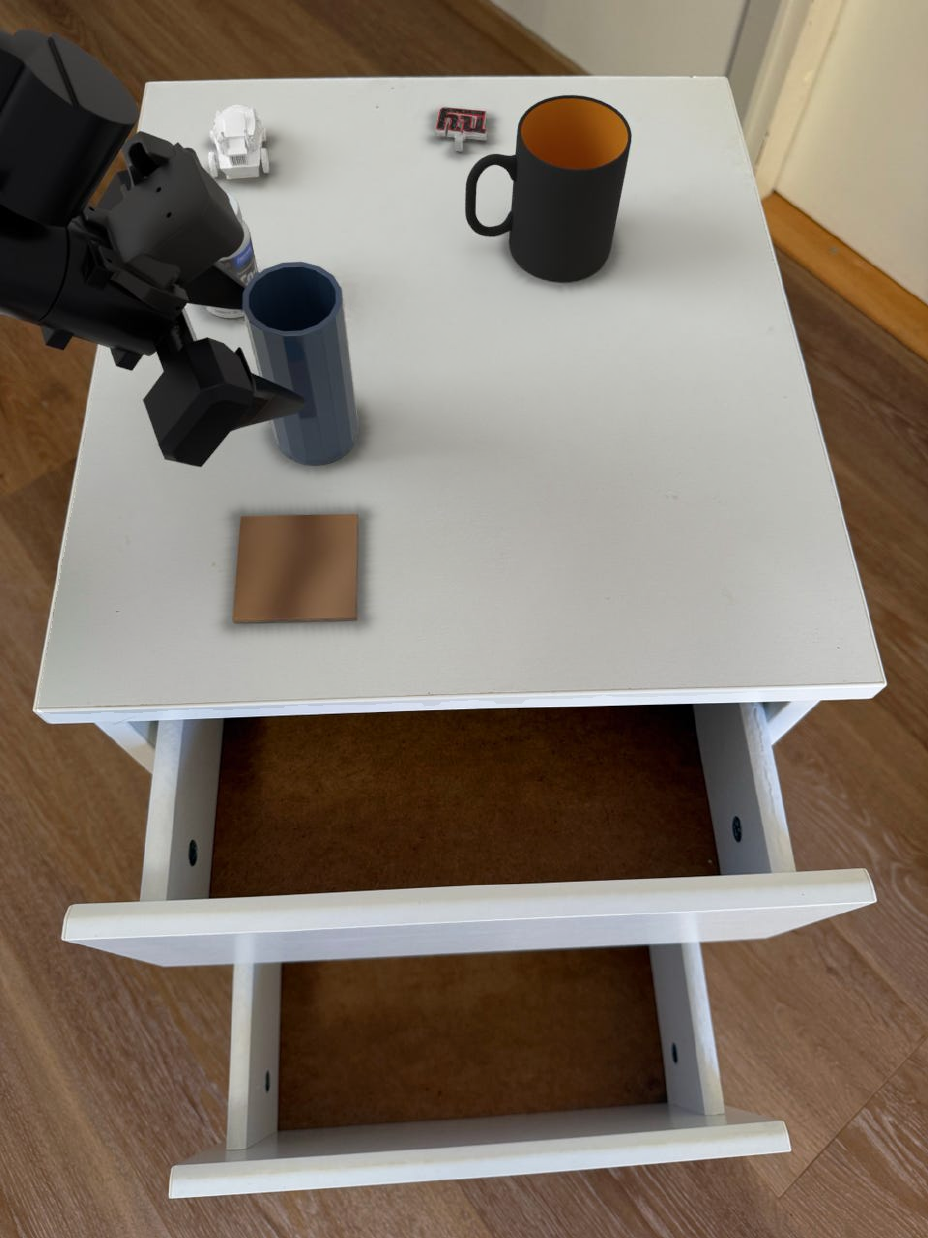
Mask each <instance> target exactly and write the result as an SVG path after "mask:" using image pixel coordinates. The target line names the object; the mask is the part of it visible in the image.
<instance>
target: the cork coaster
mask: <svg viewBox="0 0 928 1238" xmlns="http://www.w3.org/2000/svg"><path fill="white" fill-rule="evenodd" d="M358 536H359V515H358V513H336V514H335V513H333V514H329V513H328V514H283V515H282V514H281V515H280V514H279V515H245V516H244V515H240V519H239V530H238V541H237V542H238V543H237V555H236V565H235V566H236V568H235V580H234V581H235V582H234V595H233V605H232V606H233V607H232V618H231V620H232V623H233V624H239V623H243V624H244V623H245V624H246V623H281V622H284V623H285V622H287V623H288V622H289V623H290V622H324V621H325V622H326V621H356V620H357V619H358V618H357V615H358V614H357V611H358V610H357V608H358V605H357V604H358V602H357V601H358V549H359V548H358V546H359V545H358V544H359V543H358V541H359V539H358V538H359V537H358Z"/></svg>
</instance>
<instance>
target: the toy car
mask: <svg viewBox="0 0 928 1238" xmlns="http://www.w3.org/2000/svg"><path fill="white" fill-rule="evenodd" d="M209 136H210V137H209V138H210V141H211V143H212V145H215V148H216V150H217V157H216V154H215V152H214V151H209V152H208V153H207V158H208V166H209V170H210V174H211V177H212V178H218V176H219V169H220V170H221V171H222V172H223V173H224V174H225V176H226V180H234V179H247V178H259V177H260V165H261V167H262V171H263V174H269V173H270V164H269V163H270V162H269V155H268V152H267V148H264V147H263V142H264V143H265V142H267V132H266V127H262V121H261V118H260V116H259V114H258V112H257V110H256V108H255V107H251V108H250V107H247V106H244V105H242V104H232V105H231V106H229V107H227V108H225V109H223V110H222V111H221V110H217V111H216V112H215V116H214V121H213V129H210V131H209ZM217 158H218V161H217ZM218 167H219V168H218Z"/></svg>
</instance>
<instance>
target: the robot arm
mask: <svg viewBox="0 0 928 1238" xmlns="http://www.w3.org/2000/svg"><path fill="white" fill-rule="evenodd" d="M139 110H140V109H139V107H138V104H137V102H136V100H135V98H134V97H133V96H132V94H131V93H130V91H129V90H128V89H127V88H126V86H125V85H124V84H123V82H121V80H119V79H118V77H117V76H116V75H114V73H112V71H110V69H108V68H107V67H106V66H105V65H104V64H102V63H101V62H100V61H99V60H98V59H97V58H96V57H94V56H93V55H91V54H90V53H89V52H87V51H86V50H84V49H83V48H82V47H80V45H77V44H76V43H74V42H72V41H71V40H69V39H68V38H65V37H64V36H62V35H60V34H58V33H56V32H50V35H49V34H47V33H45V32H42V31H39V30H34V29H29V28H21V29H17V30H16V31H15V32H14V33H13V34H12V33H10V32H8V31H6V30H4V29H3V28H0V315H3V316H7V317H10V318H13V319H16V320H19V321H22V322H25V323H29V324H32V325H34V326H38V327H39V328H40V332H41V335H42V338H43V342H44V345H45V346H47V347H50V348H54V349H57V350H60V351H65V349H66V348H67V347H68V344H70V342H71V340H72V339H73V337H74V338H76V339H80V340H82V341H86V342H90V343H92V344H96V345H99V346H103V347H105V348H109V350H110V353H111V356H112V359H113V361H114V364H115V366H116V367H117V368H120V369H124V370H127V371H131V372H133V371H134V369H135V368H136V366H138V364H139V362H140V361H141V360H142V358H143V357H144V356H147V357H151V356H152V355H154V354H155V353H156V354H157V357H158V360H159V363H160V365H161V368H162V372H161V374H160V376H159V377H158V378H157V379H156V381H155V382H154V384H153V385H152V386H151V388H150V389H149V390H148V392H147V393H146V395H145V396H144V398H142V402H143V405H144V407H145V411H146V413H147V416H148V419H149V421H150V425H151V428H152V431H153V433H154V436H155V439H156V441H157V444H158V447H159V450H160V452H161V454H162V456H163V458H164V460H165V461H170V462H174V463H177V464H182V465H186V466H192V467H196V468H202V467H203V466H204V465H205V464H206V462H207V461H208V460H209V459H210V457H211V456H212V455H213V454H214V453H215V451H216V450H217V449H218V448H219V446H221V444H222V443H223V442H224V441H225V439H226V438H227V437H228V436H229V435H230V433H231V432H234V431H236V430H237V431H238V430H239V429H242V428H246V427H249V426H254V425H258V424H261V423H265V422H269V421H270V420H274V419H277V418H281V417H285V416H289V415H293V414H296V413H298V412H299V411H300V410H301V409H302V408H303V406H304V405H305V404H306V402H305V399H304V398H303V397H302V396H300V395H298V394H296V393H295V392H293V391H291V390H289V389H287V388H285V387H283V386H280V385H278V384H276V383H274V382H271V381H269V380H267V379H265V378H262V377H260V376H259V374H256V373H253V372H252V370H251V368H250V365H249V363H248V361H247V358H246V356H245V353H244V351H243V349H242V347H240V346H238V347H237V348H236V350H235V351H233V350H232V349H231V348H230V347H229V346H228V345H227V344H226V343H224V342H222V341H219V340H216V339H213V338H212V337H211V338H210V337H207V336H206V337H203V338H200V339H198V337H197V336H196V333H195V330H194V327H193V325H192V323H191V320H190V316H189V315H188V312H187V310H186V308H185V307H186V306H187V304H189V305H197V306H202V307H203V306H204V307H205V306H210V307H217V308H224V309H232V310H243V309H242V298H243V292H244V290H245V288H246V287H247V285H246V284H245V283H244V282H243V281H241V280H240V279H239V278H238V277H237V276H235V275H234V274H233V273H232V272H231V271H230V270H228V269H227V268H226V267H225V266H224V265H222V264H221V263H220V262H219V260H220V259H221V258H224V257H229V256H231V255H232V254H233V253H235V252H236V251H237V250H238V249H239V248H240V246H241V245H242V242H243V240H244V231H243V228H242V226H241V224H240V222H239V221H238V219H237V217H236V215H235V213H234V210H233V208H232V206H231V204H230V202H229V201H230V199H229V197H228V195H227V193H228V192H226V191H225V189H223V188H222V186H220V185H219V183H218V182H217V181H216V180H215V179H214V177H213V176H212V175H210V173H209V172H208V171H207V170H206V169H205V168H204V167H203V165H202V163H201V160H200V159H199V156H198V154H197V152H196V150H195V149H194V148H192V147H184V146H182V145H181V143H180V142H176V143H175V144H173V143H172V142H171V141H169V140H166V139H164V138H161V137H158V136H156V135H153V134H151V133H148V132H145V131H142V130H138V131H137V132H136V133H134V135H132V136H131V137H129V135H130V134H131V132H132V131H133V129H134V128H135V125H136V124H137V122H138V121H139V118H140V111H139ZM128 137H129V139H128ZM120 150H121V153H122V157H123V160H124V163H125V166H126V169H123V170H119V171H116V173H115V175H114V176H113V178H112V179H111V180H110V183H109V184H108V186H107V187H106V189H105V191H104V193H103V194H102V196H101V197H100V199H99V200H98V202H97V204H96V205H92V204H91V203H89V202H90V200H91V199H92V197H93V196H94V194H95V192H96V191H97V189H98V187H99V185H100V184H101V182H102V181H103V179H104V177H105V175H106V174H107V172H108V171H109V169H110V167H111V166H112V164H113V162H114V161H115V159H116V157H117V156H118V154H119V152H120Z"/></svg>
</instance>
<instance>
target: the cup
mask: <svg viewBox="0 0 928 1238" xmlns="http://www.w3.org/2000/svg"><path fill="white" fill-rule="evenodd" d="M242 309H243V313H244V316H243V318H244V320H245V324H246V329H247V333H248V337H249V341H250V344H251V349H252V352H253V356H254V361H255V364H256V369H257V373H258V376H260V377H262V378H265V379H267V380H269V381H271V382H274V383H276V384H278V385H280V386H283V387H285V388H287V389H289V390H291V391H293V392H295V393H296V394H298V395H300V396H302V397H303V398H304V399H305V402H306V404H305V405H304V406H303V408H302V409H301V410H300V411H299V412H298V413H296V414H293V415H289V416H285V417H281V418H277V419H274V420H270V425H271V430H272V433H273V436H274V438H275V442H276V445H277V447H278V448H279V450H280V451H281V453H283V454H284V455H285V456H286V457H287V458H289V459H290V460H291V461H293V462H296V463H299V464H302V465H307V466H322V465H323V466H324V465H327V464H330V463H331V464H332V463H334V462H336V461H338V460H341V459H342V458H343V457H344V456H346V455H347V454H348V453H349V452H350V451H351V450H352V449H353V448H354V446H355V444H356V442H357V439H358V437H359V421H358V420H359V419H358V411H357V404H356V403H357V402H356V395H355V394H356V393H355V386H354V377H353V369H352V363H351V352H350V345H349V337H348V329H347V328H348V327H347V321H346V312H345V311H346V310H345V303H344V295H343V289H342V286H341V285H340V283H339V282H338V280H337V278H336V277H335V276H334V275H333V274H331V273H330V272H329V271H327V270H326V269H324V268H323V267H321V266H319V265H316V264H312V263H308V262H304V261H290V262H289V261H287V262H280V263H277V264H274V265H272V266H269V267H266V268H264V269H262V270H261V271H259V273H258V274H257V275H256V276H255V277H253V278H252V279H251V280H250V281H249V283H248V285H247V287H246V288H245V290H244V292H243V298H242Z"/></svg>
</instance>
